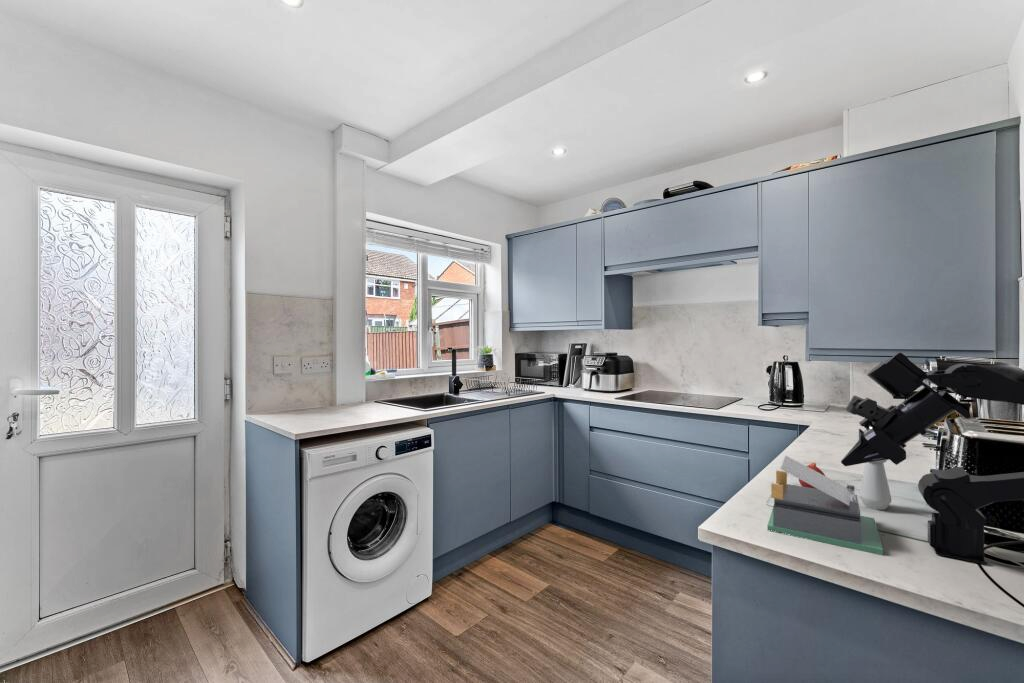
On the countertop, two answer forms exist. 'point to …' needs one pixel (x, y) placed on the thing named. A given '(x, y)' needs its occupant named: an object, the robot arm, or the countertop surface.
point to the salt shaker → (875, 486)
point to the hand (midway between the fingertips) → (842, 463)
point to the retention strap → (818, 480)
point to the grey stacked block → (814, 511)
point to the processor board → (868, 540)
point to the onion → (813, 466)
